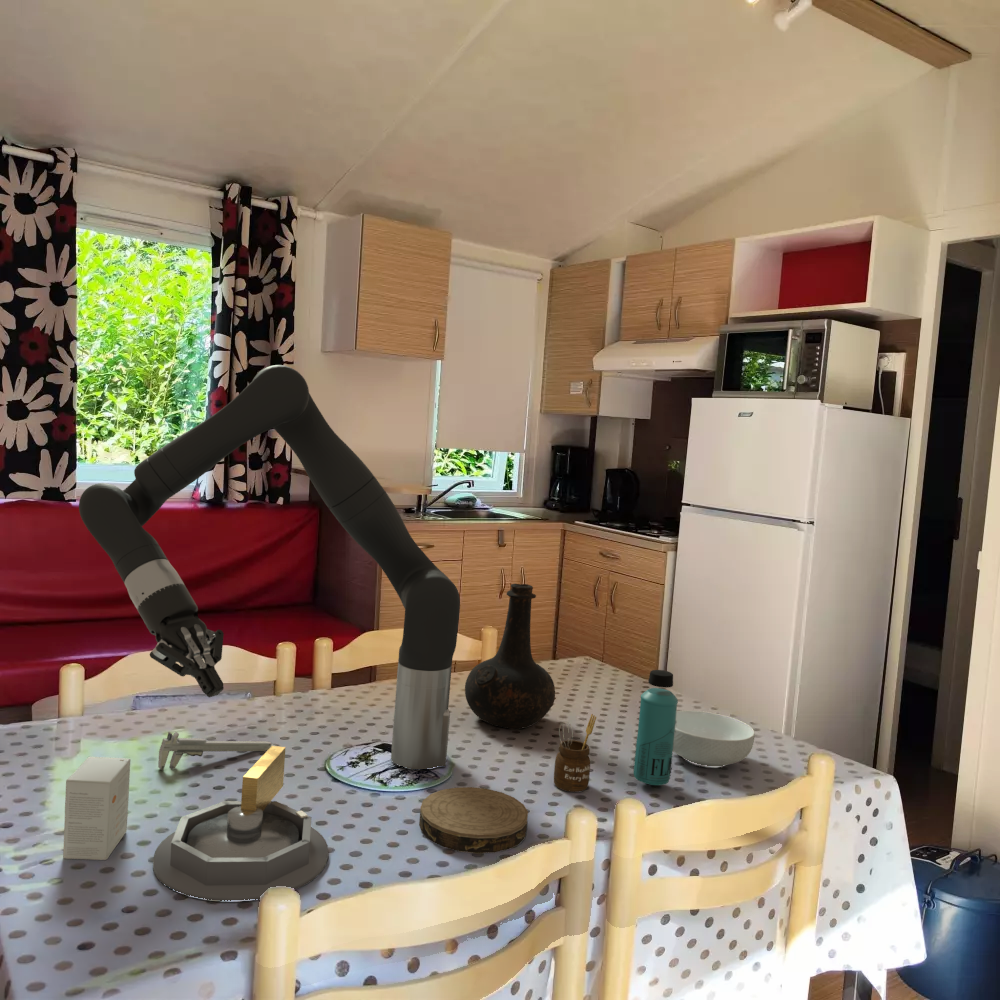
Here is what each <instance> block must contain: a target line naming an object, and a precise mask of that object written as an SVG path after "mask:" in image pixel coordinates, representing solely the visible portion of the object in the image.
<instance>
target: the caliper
mask: <svg viewBox="0 0 1000 1000" xmlns="http://www.w3.org/2000/svg"><path fill="white" fill-rule="evenodd" d="M167 733H168V734H167V736H166V738H162V742H161V744H160V746H159V751H158V768H159V770H161V771H165V768H166V767H165V766H166V763H167V760H168V757H169V754H170V752H172V756H171V758H170V762H169V769H171V770H174V769H175V770H176V767H177V765H178V764H179V762H180V761H181V758H182V757H183V756H184V754H187V755H188V756H191V757H194V756H195V757H197V756H198V757H202V756H203V754H204V752H267V751H268V750H269V748H270V747H271V746H276V745H275V744H272V742H270V741H262V740H261V741H256V740H254V741H252V740H251V741H246V740H239V741H238V740H233V741H232V740H230V741H229V740H206V739H204V738H198V737H197V738H193V737H191V738H190V737H179V735H180V734H179V733H178V732H177V731H175V732H174V733H171V732H170V731H168V732H167ZM266 750H267V751H266Z"/></svg>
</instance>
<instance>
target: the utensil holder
mask: <svg viewBox="0 0 1000 1000" xmlns="http://www.w3.org/2000/svg"><path fill="white" fill-rule="evenodd" d="M596 719H597V716H596V715H594V714H593V713H591V715H590V717H589V720H588V723H587V727H586V729H585V732H586V736H585V738H584V741H580V740H574V738H573V737H571V739H566V740H565V736H564V735H565V732H564V729H565V726H564V725H566V726H567V732H570V731H569V727H568V726H570V728H571V729H573V727H572V724H571V723H570V722H567V721H563V722H560V725H559V726H558V734H559V736H561V732H560V729H561V726H562V736H563V739H564V740H562V739H561V738H559V740H560V743H559V745H558V747H557V748H558V750H557V751H558V752H557V754H556V756H555V761H554V767H553V768H554V770H553V784H554V787H555V786H556V788H557V789H558V790H559V789H560V790H562V791H564V792H568V793H569V792H570V793H580V792H584V791H585V790H586V789H587V788H588V787H589V782H590V776H591V775H590V773H591V759H590V756H589V755H590V752H591V750H590V746H589V745H588V743H587V742H588V740H589V736H590V735H592V734H593V731H594V726H595V723H596ZM573 734H574V733H573V731H571V736H574V735H573Z"/></svg>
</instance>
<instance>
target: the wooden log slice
mask: <svg viewBox="0 0 1000 1000" xmlns="http://www.w3.org/2000/svg"><path fill="white" fill-rule="evenodd" d="M528 817H529V811H528V809H527V808H526V806H525V805H524V803H522V802H521V801H520V800H518V799H517V798H515V797H513V796H512V795H508V794H507V793H504V792H502V791H499V790H493V789H490V788H484V787H483V788H482V787H475V786H465V787H459V786H457V787H451V788H450V787H449V788H444V789H440V790H438V791H435V792H432V793H430V794H429V795H428V796H426V798H424V799H422V801H421V805H420V809H419V822H418V826H419V829H420V832H421V834H423V836H425V838H426V839H428V841H430V842H432V843H434V844H436V845H438V846H440V847H442V848H444V849H445V848H446V849H448V850H453V851H456V852H460V853H469V854H495V853H500V852H504V851H507V850H508V851H509V850H510V849H511V850H512V849H513V848H515V847H516V846H519V845H520V844H522V842H523V841H524V840H525V839H526V838H527V827H528Z"/></svg>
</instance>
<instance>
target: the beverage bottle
mask: <svg viewBox="0 0 1000 1000" xmlns="http://www.w3.org/2000/svg"><path fill="white" fill-rule="evenodd" d="M647 682H648V684H649V685H651V686H653V687H652V688H648V689H647V690H645V691H644V692H643V693H641V695H640V704H639V705H640V706H639V714H638V715H639V718H638V727H637V728H638V729H637V734H636V742H635V747H634V749H635V752H634V757H633V776H634V778H635V779H636V780H637V781H639V782H641V783H643V784H648V785H650V786H662V785H666V784H668V783H669V782H670V779H671V776H672V770H673V767H672V765H673V753H674V752H673V749H674V748H673V747H674V746H673V742H674V738H675V737H674V732H676V730H675V724H676V722H677V721H676V711H678V710H677V707H678V702H679V701H678V698H677V696H676V695H675V694H674V693H673V692H672V691H671V690H667V688H673V686H674V674H673V672H671V671H667V670H663V669H652V670H650V672H649V678H648V681H647Z"/></svg>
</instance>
